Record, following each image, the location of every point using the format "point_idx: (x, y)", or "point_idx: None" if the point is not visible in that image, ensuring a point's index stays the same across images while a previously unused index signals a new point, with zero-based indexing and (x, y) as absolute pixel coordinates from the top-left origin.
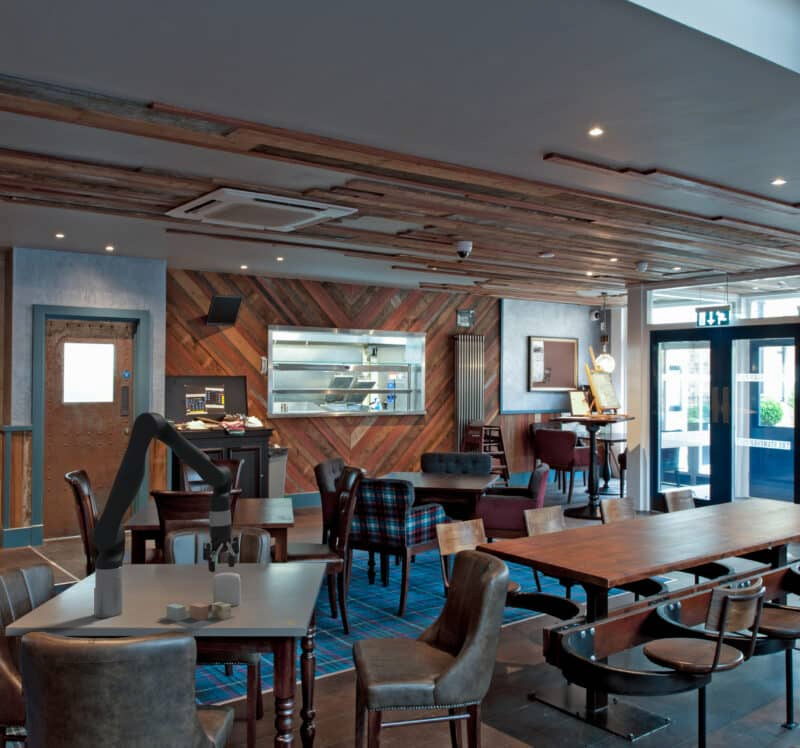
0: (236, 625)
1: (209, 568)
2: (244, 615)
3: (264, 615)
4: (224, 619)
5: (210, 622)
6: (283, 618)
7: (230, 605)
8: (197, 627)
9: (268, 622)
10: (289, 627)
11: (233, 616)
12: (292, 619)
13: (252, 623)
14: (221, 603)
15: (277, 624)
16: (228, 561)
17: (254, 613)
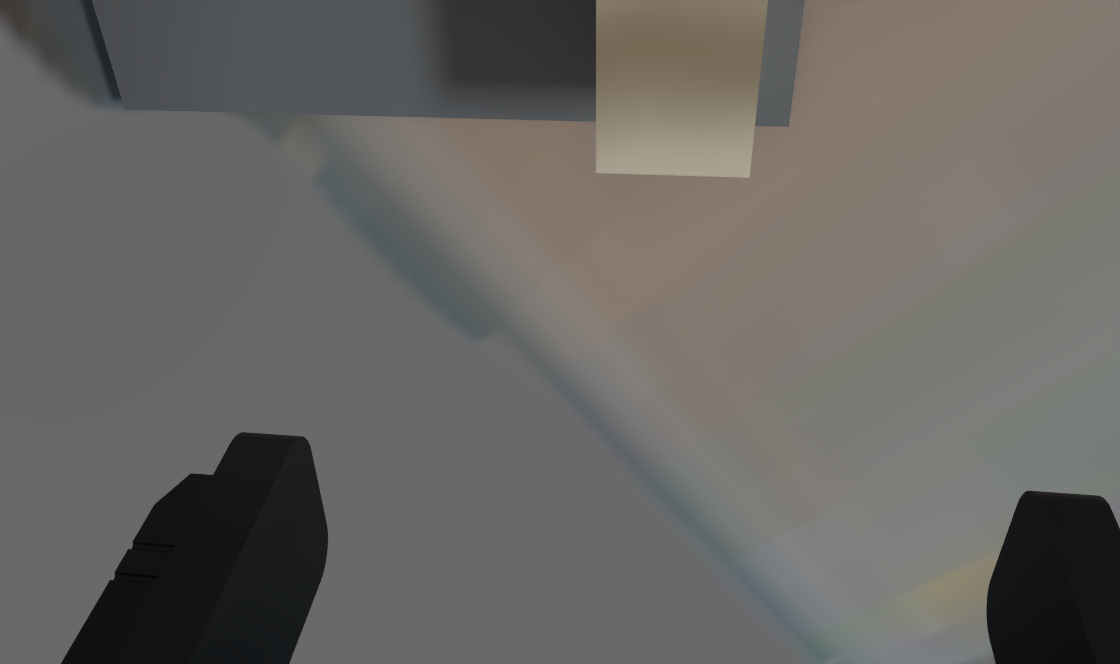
0: (593, 298)
1: (164, 545)
2: (972, 99)
3: (1079, 288)
4: None
5: (418, 47)
6: (1053, 487)
7: (741, 169)
8: (188, 78)
9: (859, 460)
10: (825, 639)
11: (791, 87)
12: None
13: (745, 372)
14: (709, 16)
15: (846, 543)
16: (1080, 621)
17: (1116, 139)
